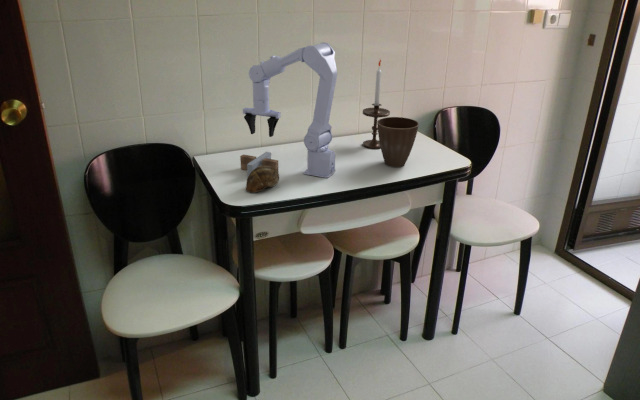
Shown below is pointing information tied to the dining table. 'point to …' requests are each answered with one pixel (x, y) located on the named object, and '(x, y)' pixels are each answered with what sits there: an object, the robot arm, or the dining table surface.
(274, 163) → the walnut slotted board
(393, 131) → the plant pot
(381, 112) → the candlestick
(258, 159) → the grey slotted slat
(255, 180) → the seashell
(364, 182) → the dining table surface
